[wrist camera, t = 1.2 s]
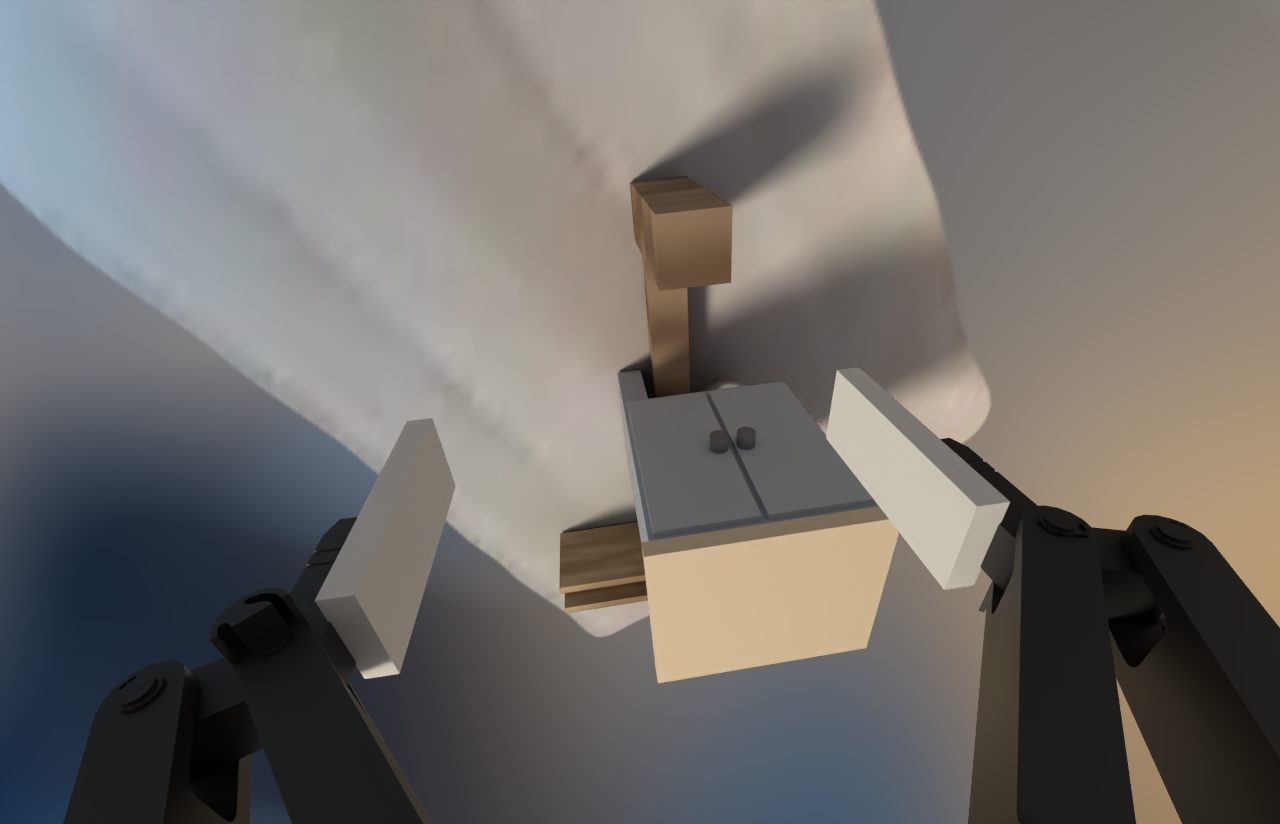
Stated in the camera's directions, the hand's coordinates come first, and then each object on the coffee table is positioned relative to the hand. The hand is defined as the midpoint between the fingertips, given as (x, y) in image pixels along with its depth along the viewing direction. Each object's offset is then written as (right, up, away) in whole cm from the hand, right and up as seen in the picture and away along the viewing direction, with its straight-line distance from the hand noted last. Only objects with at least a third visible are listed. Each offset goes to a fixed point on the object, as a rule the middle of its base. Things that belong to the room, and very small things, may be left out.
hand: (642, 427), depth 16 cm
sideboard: (+5, 0, +30) cm, 31 cm away
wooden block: (+2, +10, +24) cm, 26 cm away
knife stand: (+2, -13, +38) cm, 40 cm away
